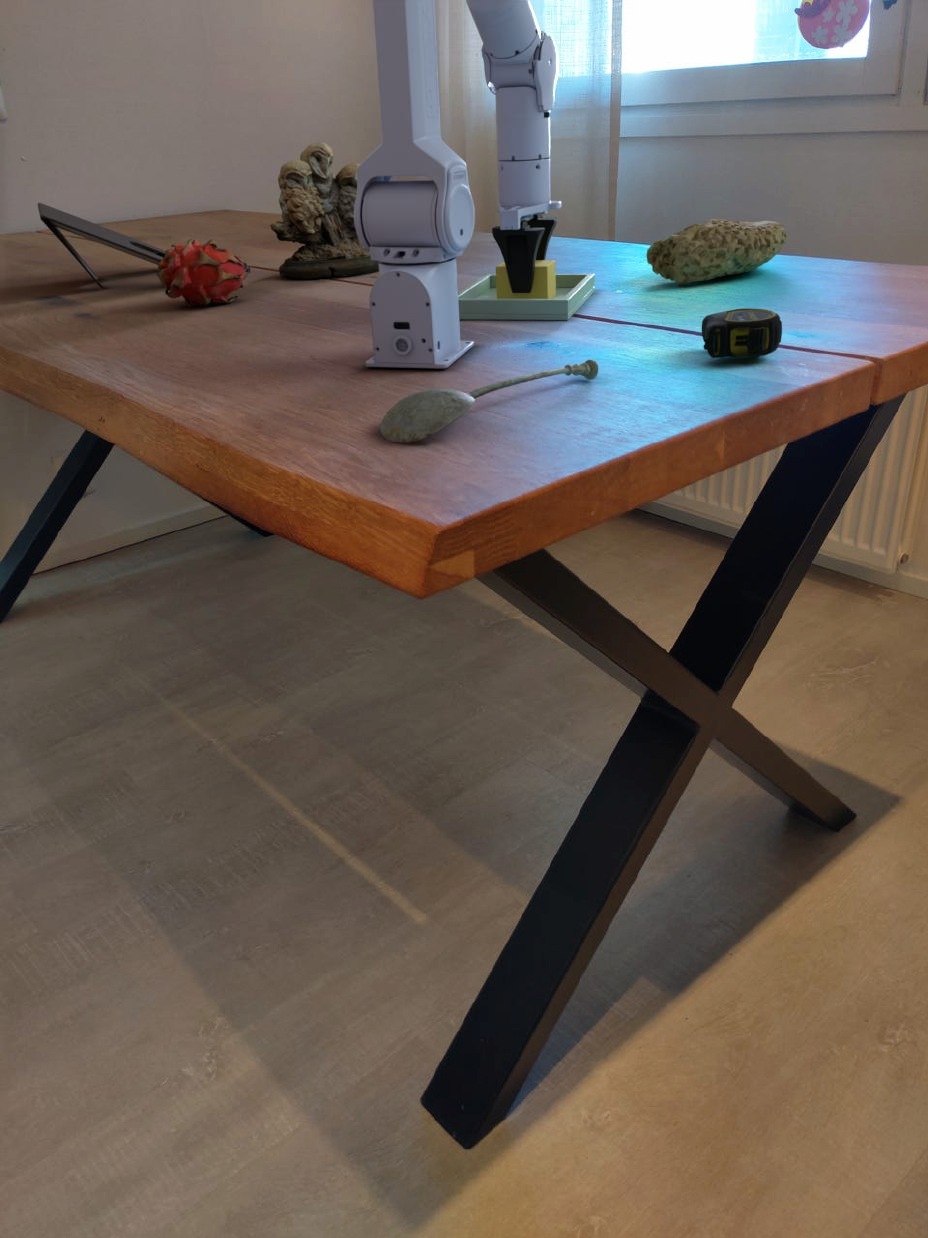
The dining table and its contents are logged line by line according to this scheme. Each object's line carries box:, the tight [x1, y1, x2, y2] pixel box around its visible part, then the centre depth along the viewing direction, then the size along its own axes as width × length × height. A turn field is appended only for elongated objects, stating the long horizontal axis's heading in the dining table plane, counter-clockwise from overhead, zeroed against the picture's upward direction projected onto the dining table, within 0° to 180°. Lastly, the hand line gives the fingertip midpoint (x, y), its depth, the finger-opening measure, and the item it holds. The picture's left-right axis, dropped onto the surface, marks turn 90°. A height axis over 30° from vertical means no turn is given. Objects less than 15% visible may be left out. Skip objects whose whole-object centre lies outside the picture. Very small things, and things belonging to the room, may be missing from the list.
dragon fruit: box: [156, 238, 251, 308], centre depth 126 cm, size 8×8×12 cm
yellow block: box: [495, 259, 557, 299], centre depth 115 cm, size 4×6×4 cm
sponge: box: [646, 218, 787, 285], centre depth 126 cm, size 13×8×20 cm
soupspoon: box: [379, 359, 599, 444], centre depth 79 cm, size 22×3×7 cm
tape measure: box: [701, 307, 783, 359], centre depth 89 cm, size 7×7×4 cm
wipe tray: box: [458, 273, 596, 321], centre depth 116 cm, size 17×14×2 cm
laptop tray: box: [37, 202, 166, 289], centre depth 146 cm, size 23×23×9 cm
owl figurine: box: [269, 141, 379, 280], centre depth 142 cm, size 18×12×17 cm, turn 125°
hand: (526, 288), depth 116 cm, fingers closed on yellow block, 4 cm apart
